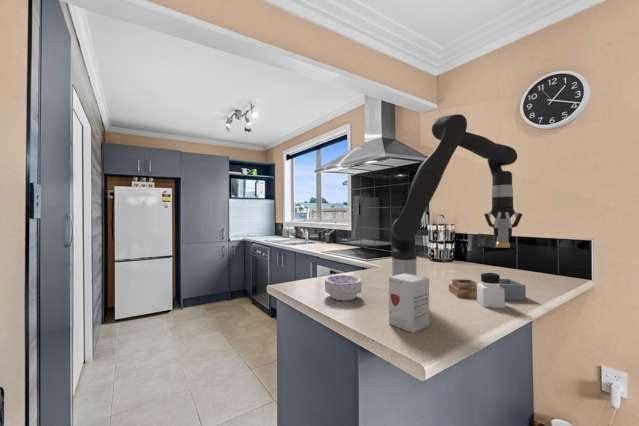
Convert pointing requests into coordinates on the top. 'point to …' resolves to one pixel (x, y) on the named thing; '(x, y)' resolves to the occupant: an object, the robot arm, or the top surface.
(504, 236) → the strut
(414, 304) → the supplement box
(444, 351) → the top surface
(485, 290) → the medicine bottle
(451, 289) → the socket block
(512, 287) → the bin
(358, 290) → the pale lilac bowl
